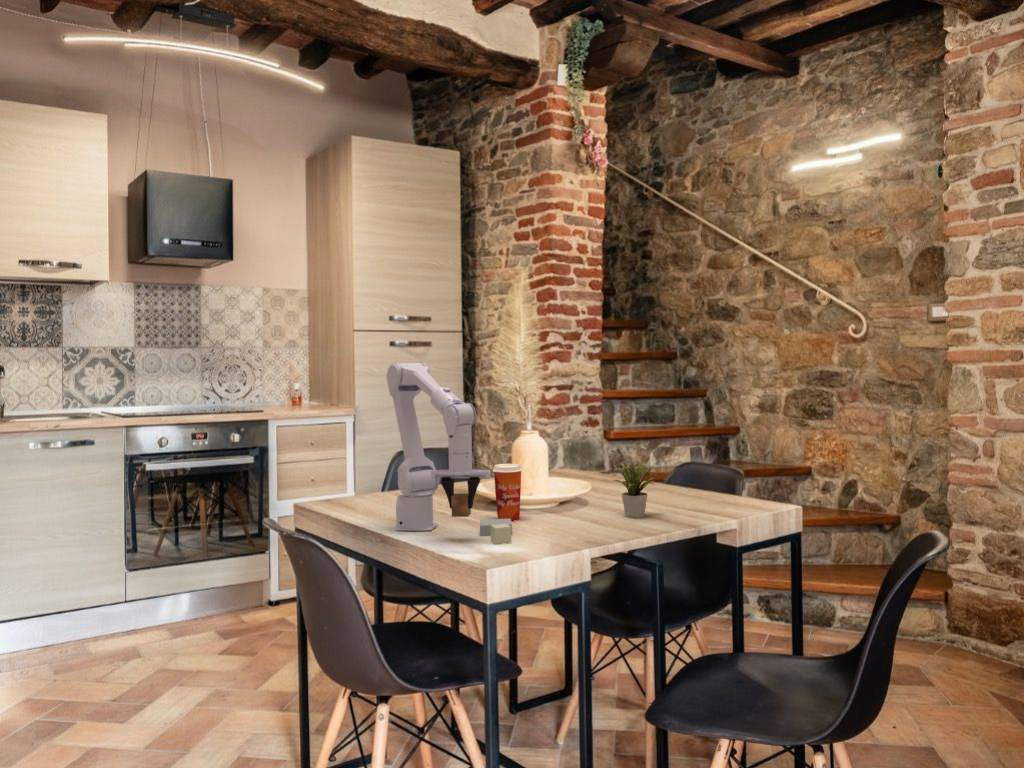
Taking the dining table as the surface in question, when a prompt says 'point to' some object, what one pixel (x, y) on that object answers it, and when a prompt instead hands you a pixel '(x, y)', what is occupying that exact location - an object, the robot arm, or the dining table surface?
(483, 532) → the base block
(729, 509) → the dining table surface
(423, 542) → the dining table surface
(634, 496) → the house plant
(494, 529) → the sage block
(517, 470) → the coffee cup
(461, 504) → the walnut block
